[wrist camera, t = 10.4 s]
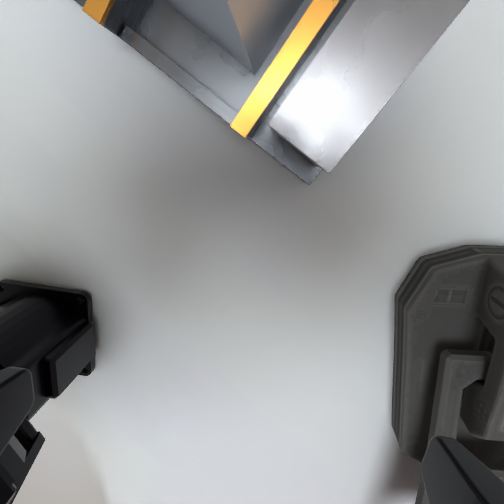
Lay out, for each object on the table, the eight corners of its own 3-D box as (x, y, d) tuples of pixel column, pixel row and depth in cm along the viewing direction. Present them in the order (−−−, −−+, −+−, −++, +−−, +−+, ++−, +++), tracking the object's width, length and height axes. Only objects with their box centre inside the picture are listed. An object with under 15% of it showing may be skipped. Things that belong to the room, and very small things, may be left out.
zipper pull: (380, 651, 20) (463, 289, 13) (357, 532, 27) (402, 241, 19) (531, 671, 20) (720, 300, 12) (471, 544, 26) (568, 246, 18)
